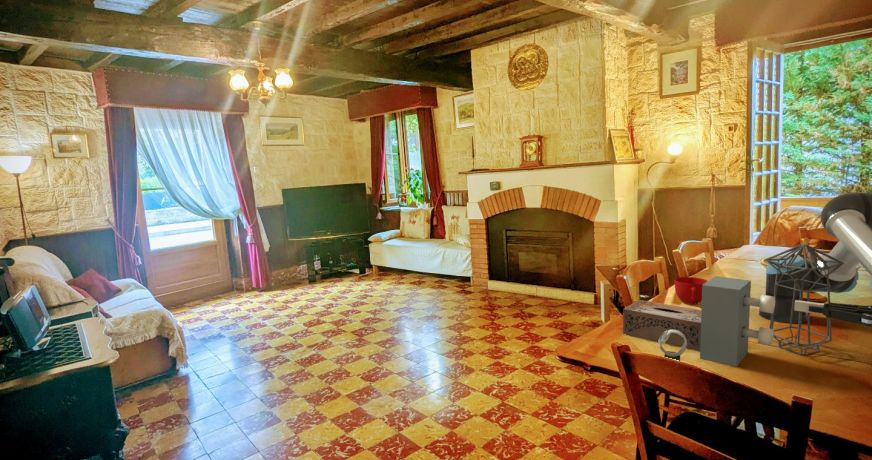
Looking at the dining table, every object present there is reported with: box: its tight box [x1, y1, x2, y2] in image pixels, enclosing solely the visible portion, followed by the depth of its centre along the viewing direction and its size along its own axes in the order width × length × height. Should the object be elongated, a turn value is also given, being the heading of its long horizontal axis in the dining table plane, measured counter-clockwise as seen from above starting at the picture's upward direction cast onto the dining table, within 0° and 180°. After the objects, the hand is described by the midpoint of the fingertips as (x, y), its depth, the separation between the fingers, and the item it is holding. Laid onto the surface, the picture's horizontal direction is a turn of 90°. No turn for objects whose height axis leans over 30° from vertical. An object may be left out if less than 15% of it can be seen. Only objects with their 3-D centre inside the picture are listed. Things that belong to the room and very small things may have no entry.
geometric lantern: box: [764, 243, 844, 356], centre depth 150 cm, size 16×16×35 cm
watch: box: [657, 329, 687, 362], centre depth 145 cm, size 6×8×11 cm
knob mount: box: [699, 275, 752, 368], centre depth 149 cm, size 10×14×24 cm
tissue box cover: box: [622, 299, 702, 352], centre depth 168 cm, size 26×14×10 cm, turn 45°
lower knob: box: [742, 326, 775, 346], centre depth 144 cm, size 9×5×5 cm, turn 45°
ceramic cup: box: [674, 276, 709, 306], centre depth 204 cm, size 13×17×10 cm
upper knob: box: [743, 294, 775, 313], centre depth 143 cm, size 9×5×5 cm, turn 45°
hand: (795, 305), depth 136 cm, fingers closed
